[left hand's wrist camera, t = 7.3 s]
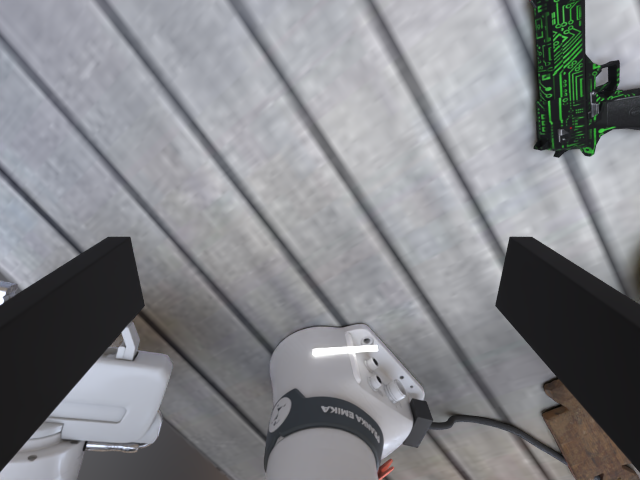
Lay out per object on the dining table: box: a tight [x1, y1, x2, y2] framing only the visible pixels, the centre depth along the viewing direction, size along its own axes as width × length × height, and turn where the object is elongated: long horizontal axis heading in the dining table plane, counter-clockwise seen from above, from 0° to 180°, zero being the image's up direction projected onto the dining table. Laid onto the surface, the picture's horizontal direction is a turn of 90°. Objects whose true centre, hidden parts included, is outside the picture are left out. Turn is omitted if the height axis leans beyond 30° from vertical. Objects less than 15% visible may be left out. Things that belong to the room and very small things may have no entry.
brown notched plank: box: [542, 379, 639, 480], centre depth 52 cm, size 26×2×10 cm
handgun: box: [529, 0, 640, 158], centre depth 34 cm, size 16×3×15 cm
